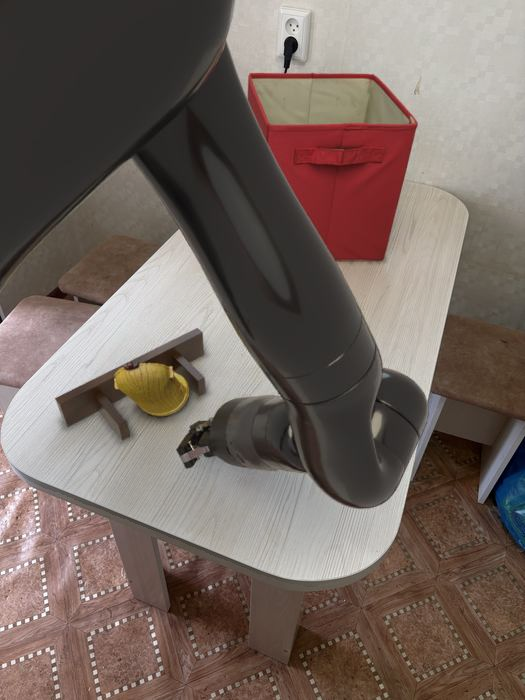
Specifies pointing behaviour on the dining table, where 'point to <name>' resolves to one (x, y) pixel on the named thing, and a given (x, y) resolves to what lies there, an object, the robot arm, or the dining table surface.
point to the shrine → (153, 387)
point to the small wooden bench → (103, 393)
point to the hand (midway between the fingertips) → (196, 430)
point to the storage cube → (338, 152)
